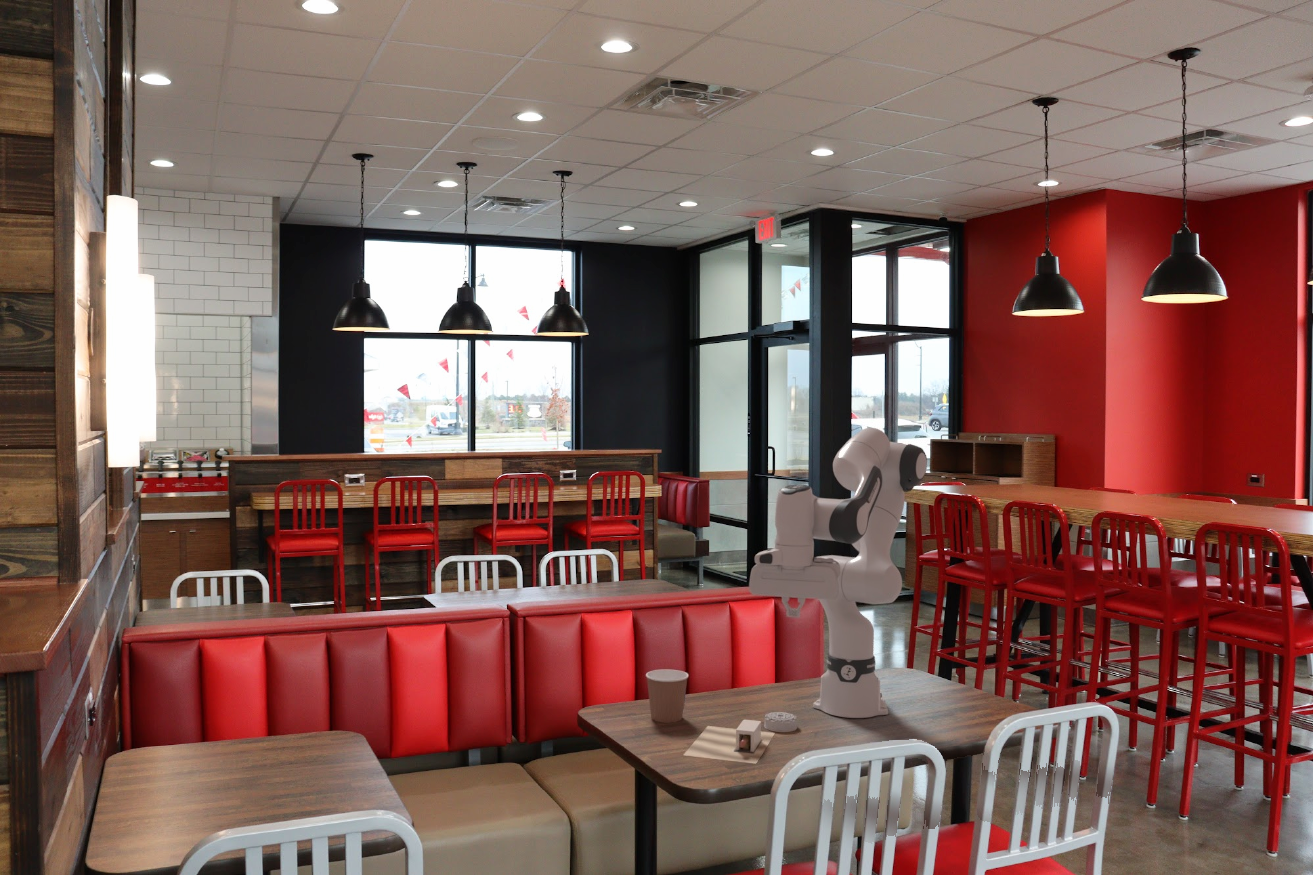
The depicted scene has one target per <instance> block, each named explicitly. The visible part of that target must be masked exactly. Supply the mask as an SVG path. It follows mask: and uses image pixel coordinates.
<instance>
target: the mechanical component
mask: <svg viewBox="0 0 1313 875" xmlns="http://www.w3.org/2000/svg"><path fill="white" fill-rule="evenodd" d="M797 719H798V717H797V715H794V714H793V713H789V712H788V713H787V712H783V711H776V712H774V711H773V712H770V713H766V714H765V715H764V724H763V728H765V729H766V730H768V731H770V732H774V733H776V732H778V733H789V732H793V731H797V729H798V720H797Z"/></svg>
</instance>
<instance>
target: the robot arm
mask: <svg viewBox="0 0 1313 875" xmlns="http://www.w3.org/2000/svg"><path fill="white" fill-rule="evenodd" d="M927 467H928V458H927V455H926V452H925V451H924V449H923V448H922V447H920V446H918V445H915V444H911V443H908V444H906V443H901V442H895V441H890V439H889V436H887V434H886V433H885V432H883V431H882V430H880V428H879V429H878V428H876V427H866V428H864V429H861V430H860V431H858V432H857V433H855V434H854V435H853V436H851V437H850V438H849V439H848V440H847V441H846V442H845V444H843V445H842V447H841V448H840V449H839V450H838V451H837V453H836V455H835V457H834V458H833V462H832V471H833V475H834V477H835V478H836V480H837V482H838V483H839V484H840V485H841V486H842V487H843V488H844V489H846V490H849V491H851V492H854V495H853V497H850V498H845V499H844V498H843V499H842V498H841V499H838V498H826V497H825V498H824V497H818V496H816V495H814V494H813V488H812V487H811V486H809V485H808V484H807V485H806V484H803V483H802V484H800V483H799V484H797V483H796V484H789V485H785V486H783V487H781V488H780V489H779V490H778V493H777V497H776V502H775V504H776V505H775V515H774V516H775V518H774V520H775V521H774V522H775V524H774V525H775V528H776V536H775V539H774V547H773V548H769V549H766V550H763V551H759V552H758V553H757V554H755V556H754V563H755V565H754V566H753V567H752V568H751V570H750V576H749V582H748V588H749V590H748V591H749V592H750V594H751V595H753V596H765V597H778V598H779V597H781V603H782V604H783V606H784V608H785V609H786V613H785V614H786V615H785V616H786V617H788V618H789V617H790V618H800V617H801V609H802V607H803V606H804V604H805V603H806V599H813V600H818V601H819V603H820V604H821V606H822V608H823V610H824V613H825V616H826V619H827V624H828V637H829V638H828V639H829V642H828V643H829V644H828V646H829V648H828V653H827V658H826V665H827V666H826V668H827V670H826V672H824V673H823V674H822V675H821V676H820V691H819V693H820V694H819V698H818V699H817V700H816V701H814V702H813V703H812V704H813V705H812V707H813V708H814V709H817V710H820V711H822V712H824V713H826V714H828V715H832V716H836V717H840V718H841V717H842V718H849V719H864V718H865V719H866V718H872V717H876V716H884V715H889V709H888V706H887V705H886V702H885V700H884V697H883V694H882V692H881V680H879V677H878V676H877V675H876V674H875V671H876V657H875V655H874V649H875V648H874V647H875V646H874V642H875V641H874V639H875V634H874V633H875V631H874V630H875V629H874V627H873V624H872V622H871V621H870V619H868V618H867V617H866V616H865V615H864V614H862V613H861V612H860V610H859V609H858V608H859V607H858V606H857V603H861V604H862V603H864V604H870V605H882V604H883V605H884V604H890V603H891V604H892V603H893V602H895V601H896V599H898V597H899V596H900V593H901V592H902V588H903V579H902V578H903V577H902V575H901V573H900V570H899V569H898V567H897V566H896V565H895V564H894V563H893V561H892V559H891V547H892V543H893V540H894V537H895V535H896V532H897V530H898V527H899V524H900V521H901V518H902V515H903V512H904V506H905V501H906V500H905V499H906V495H905V493H909V492H911V491H912V490H914V487H916V486H918V484H920V483H921V481H922V480H923V479H924V477H925V476H926V473H927ZM814 539H815V540H824V541H833V542H834V541H835V542H839V543H845V544H849V545H852V546H853V548H854V549H855V550H856V551H857V552H858V555H857V556H856V557H855V556H854V557H853V556H852V557H851V556H842V555H833V554H831V555H829V554H828V555H821V556H820V555H819V556H814V553H815V552H814V551H815V542H814ZM790 598H793V599H794V598H795V599H797V603H799V604H798V607H797V608H794V607H793V608H792V607H791V606H790V604H789V601H790Z"/></svg>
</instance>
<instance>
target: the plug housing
mask: <svg viewBox="0 0 1313 875" xmlns="http://www.w3.org/2000/svg"><path fill="white" fill-rule="evenodd" d="M735 729H736V750H739V749H740V748H743V747H744V746H745V745H746V743H747V742H748V740H747V739H746V738H743V735H745V734H746V735H751V751H752V752H754V751H755V749H756V747H757V746H758V744H759V743H760V741H761V731H762V721H760V720H754V719H743V720H742V721H741V722H740V724H739V725H738V726H737V728H735Z"/></svg>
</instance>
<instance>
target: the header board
mask: <svg viewBox="0 0 1313 875" xmlns="http://www.w3.org/2000/svg"><path fill="white" fill-rule="evenodd" d="M736 729H737V728H732V727H723V726H714V725H713V726H711V725H707V726H706V727H705V728H704V730H702V733H701V734H699V736H698V737H697V738H696V739H695V741H693V743H692V744H691V745H690V746H689V748H688V749H687V750H685V752H684V753H683V755H682V756H684V757H685V756H686V757H694V758H701V759H712V760H719V761H729V762H737V763H738V762H739V763H747V764H754V765H756V764H757V763H758V762H759V761H760V759H761V757H762V755H763V753H765V751H766V749H767V747H768V745H769V744H770V743H771V741H772V739H773V738H774V736H775V734H776V732H773V731H770V732H769V731H762V730H761V741H760V743H759V744H758V746H757V747H756V749H755V751H754V752H752V751H751V735H746V734H745V735H743V738H746V739H747V740H748V742H747V743H746V745H745V746H744V747H743V748H740V749H739V750H736Z"/></svg>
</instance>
